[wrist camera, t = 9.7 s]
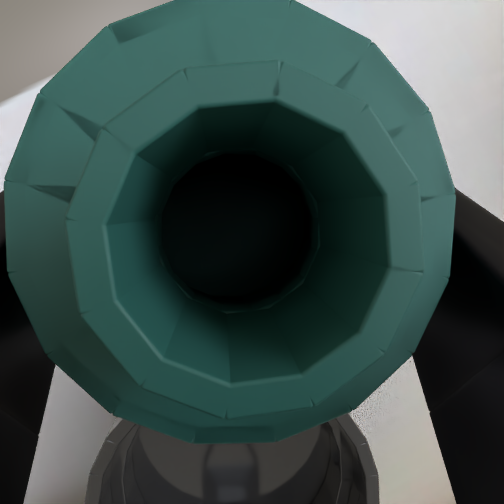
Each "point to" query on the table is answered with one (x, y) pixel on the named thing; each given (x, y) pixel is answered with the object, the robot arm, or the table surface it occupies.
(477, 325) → the robot arm
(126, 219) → the bottle
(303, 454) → the pan
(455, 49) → the table surface
